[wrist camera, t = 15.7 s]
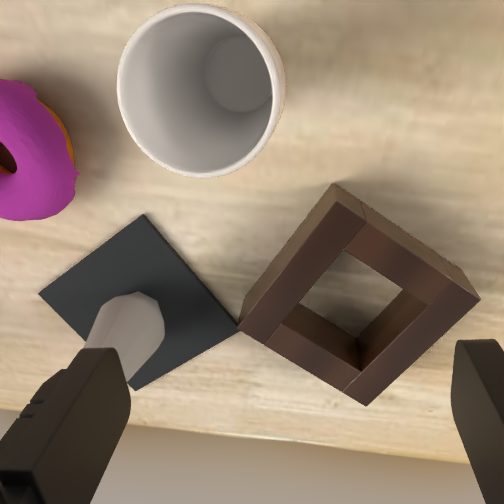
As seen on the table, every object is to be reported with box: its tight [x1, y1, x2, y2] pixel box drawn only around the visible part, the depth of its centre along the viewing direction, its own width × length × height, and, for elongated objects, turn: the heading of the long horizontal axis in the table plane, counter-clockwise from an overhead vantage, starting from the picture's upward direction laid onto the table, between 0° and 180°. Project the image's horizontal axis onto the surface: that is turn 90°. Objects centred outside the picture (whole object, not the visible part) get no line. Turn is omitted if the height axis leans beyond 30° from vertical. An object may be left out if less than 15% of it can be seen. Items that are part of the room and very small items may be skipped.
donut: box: [0, 79, 80, 221], centre depth 34 cm, size 10×10×5 cm
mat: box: [38, 214, 240, 391], centre depth 41 cm, size 13×13×1 cm
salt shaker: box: [84, 291, 165, 382], centre depth 35 cm, size 6×6×13 cm
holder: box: [237, 183, 481, 406], centre depth 35 cm, size 12×12×4 cm
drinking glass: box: [117, 3, 286, 178], centre depth 25 cm, size 7×7×15 cm
